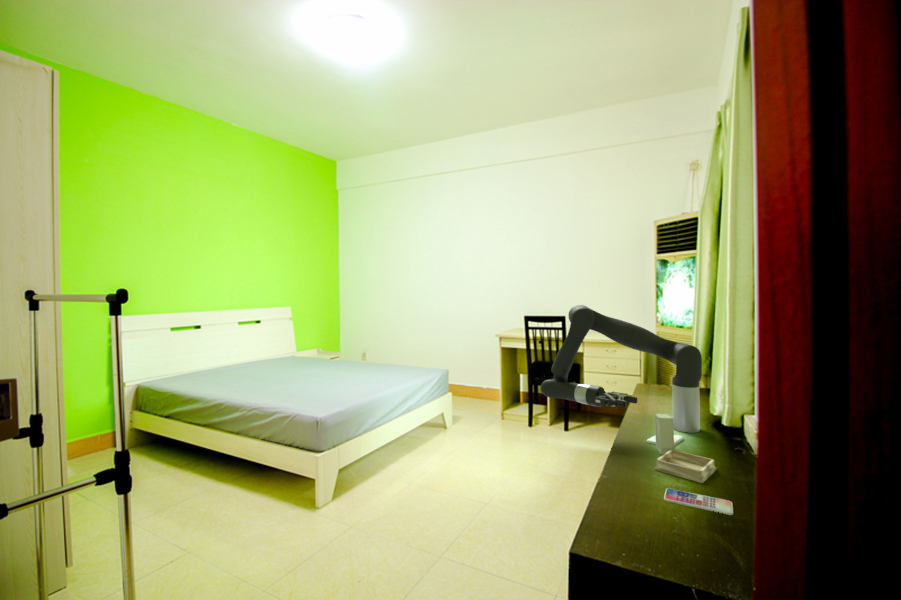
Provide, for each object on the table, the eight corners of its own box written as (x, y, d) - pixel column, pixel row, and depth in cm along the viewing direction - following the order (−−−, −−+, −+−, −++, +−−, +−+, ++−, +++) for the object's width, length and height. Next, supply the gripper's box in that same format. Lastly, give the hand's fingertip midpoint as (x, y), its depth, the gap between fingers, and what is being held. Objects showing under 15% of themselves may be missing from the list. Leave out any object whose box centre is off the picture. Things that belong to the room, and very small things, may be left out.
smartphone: (733, 514, 100) (663, 498, 108) (733, 518, 100) (663, 502, 108) (732, 500, 106) (666, 487, 114) (732, 504, 106) (666, 490, 114)
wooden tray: (670, 458, 136) (670, 448, 136) (716, 469, 127) (716, 459, 126) (654, 469, 127) (654, 459, 127) (702, 483, 118) (702, 472, 118)
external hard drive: (683, 440, 153) (670, 449, 145) (660, 435, 159) (646, 443, 151) (683, 436, 153) (670, 445, 145) (660, 431, 159) (645, 439, 151)
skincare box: (674, 455, 138) (674, 418, 138) (660, 454, 139) (659, 418, 139) (668, 448, 144) (668, 413, 144) (654, 448, 145) (654, 412, 145)
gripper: (579, 387, 156) (622, 395, 144) (598, 382, 166) (640, 389, 154) (579, 408, 156) (622, 417, 145) (598, 401, 166) (640, 409, 154)
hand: (631, 402), depth 149 cm, fingers open, 8 cm apart
